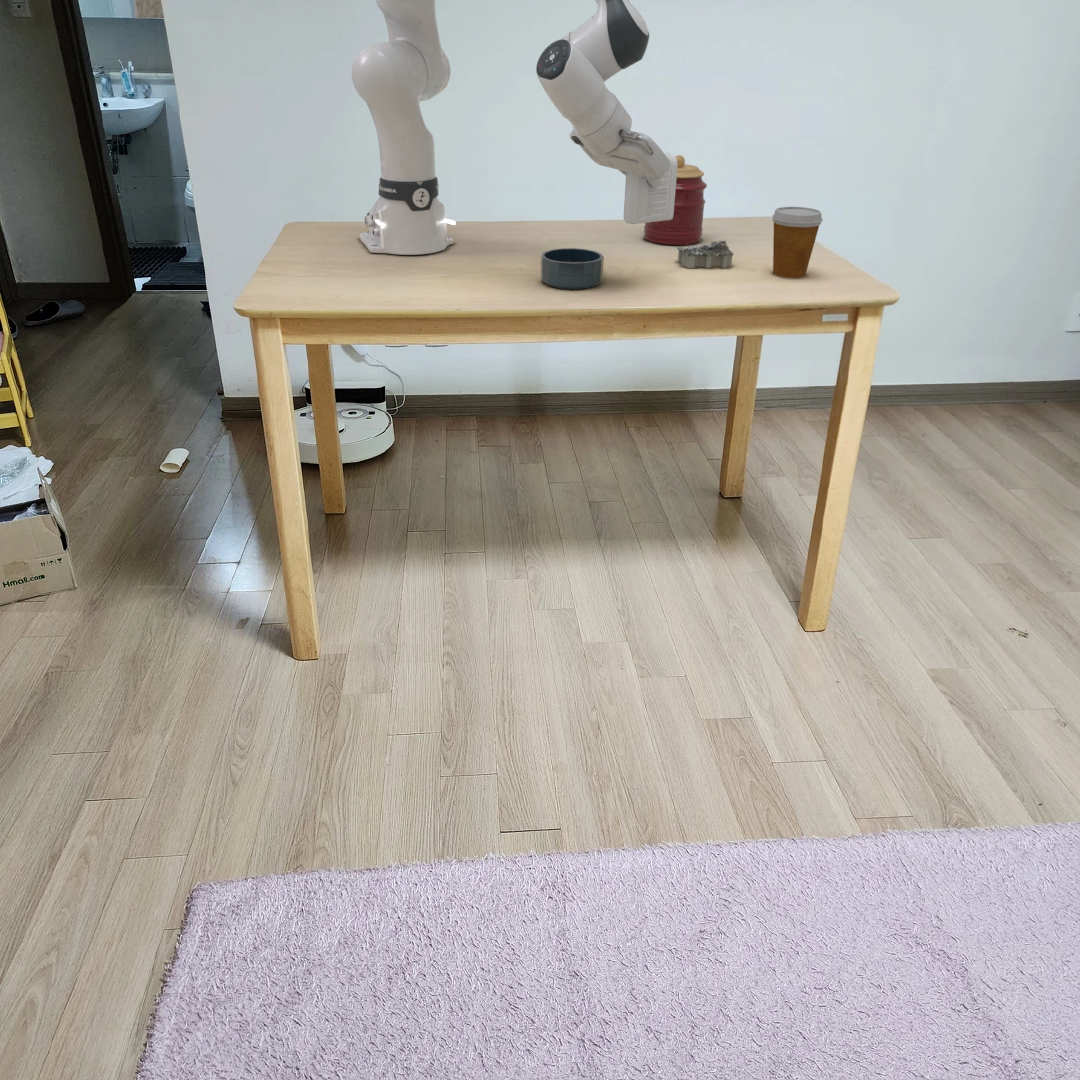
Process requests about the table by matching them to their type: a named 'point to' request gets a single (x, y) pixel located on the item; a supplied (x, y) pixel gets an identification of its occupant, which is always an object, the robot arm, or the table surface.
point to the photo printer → (650, 196)
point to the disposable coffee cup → (794, 240)
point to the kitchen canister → (682, 210)
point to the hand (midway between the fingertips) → (647, 183)
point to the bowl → (572, 268)
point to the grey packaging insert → (706, 255)
